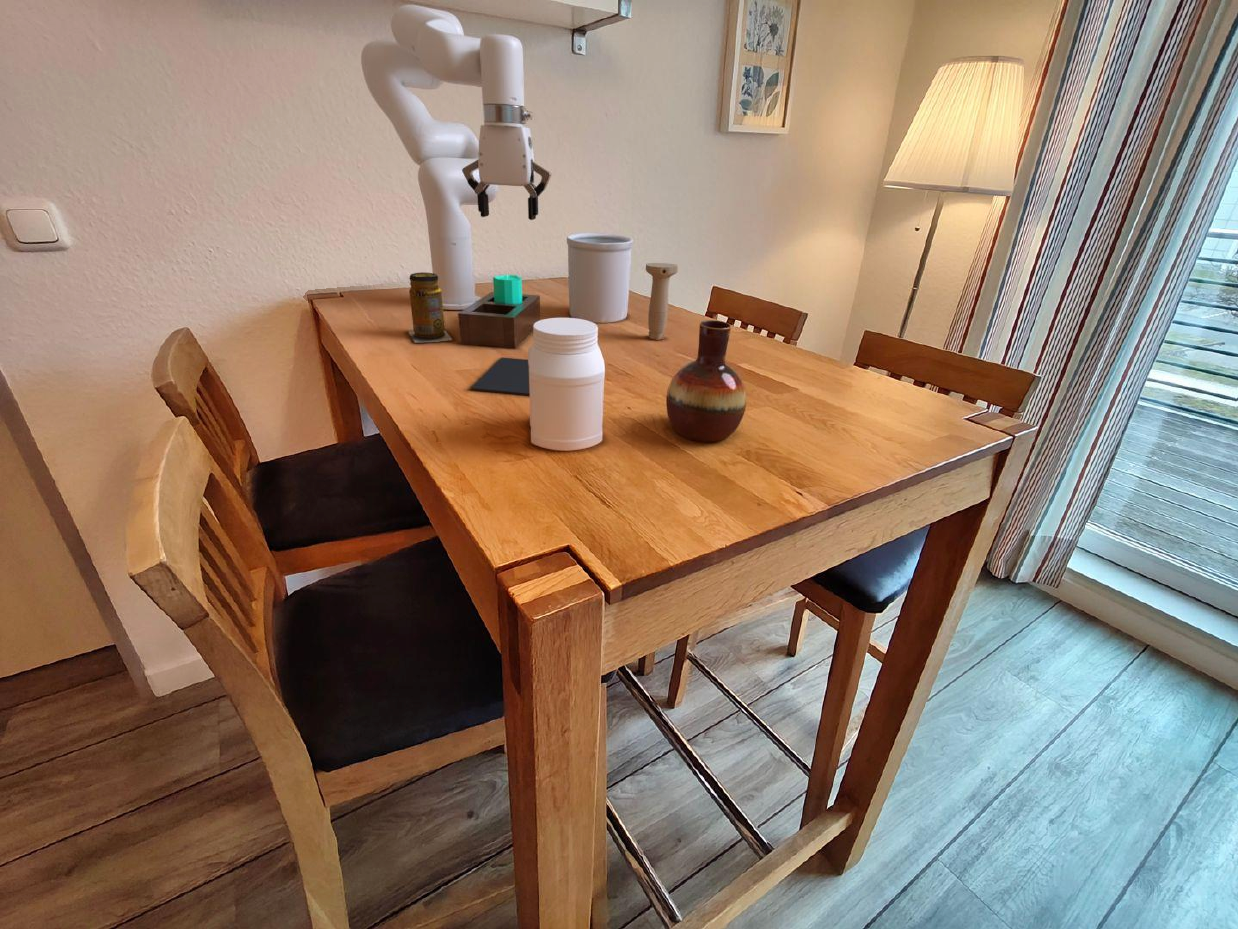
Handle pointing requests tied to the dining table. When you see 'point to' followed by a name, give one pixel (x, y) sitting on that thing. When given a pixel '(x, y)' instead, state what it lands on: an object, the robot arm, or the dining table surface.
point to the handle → (659, 297)
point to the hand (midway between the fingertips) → (508, 217)
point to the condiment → (427, 308)
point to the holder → (498, 321)
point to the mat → (505, 377)
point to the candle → (507, 289)
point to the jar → (566, 384)
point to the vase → (707, 390)
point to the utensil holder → (599, 276)
